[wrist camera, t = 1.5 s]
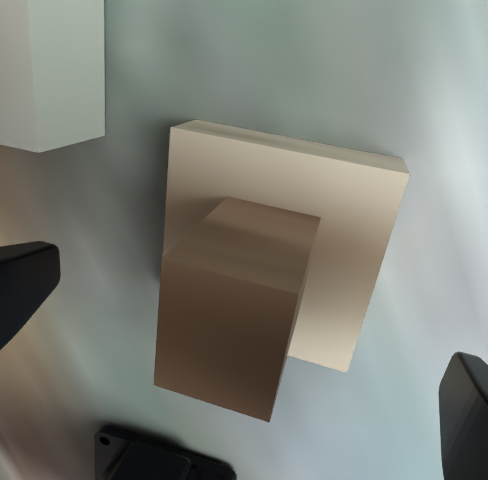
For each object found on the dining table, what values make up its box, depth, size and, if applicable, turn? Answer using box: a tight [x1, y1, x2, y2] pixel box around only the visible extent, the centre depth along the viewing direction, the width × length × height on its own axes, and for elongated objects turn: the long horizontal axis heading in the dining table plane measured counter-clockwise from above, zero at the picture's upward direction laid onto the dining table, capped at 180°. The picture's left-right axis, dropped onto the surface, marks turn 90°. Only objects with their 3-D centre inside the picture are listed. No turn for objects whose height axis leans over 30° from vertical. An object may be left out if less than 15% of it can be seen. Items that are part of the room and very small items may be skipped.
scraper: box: [154, 120, 410, 422], centre depth 10 cm, size 6×6×6 cm
